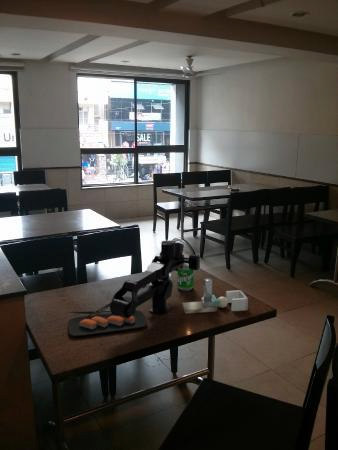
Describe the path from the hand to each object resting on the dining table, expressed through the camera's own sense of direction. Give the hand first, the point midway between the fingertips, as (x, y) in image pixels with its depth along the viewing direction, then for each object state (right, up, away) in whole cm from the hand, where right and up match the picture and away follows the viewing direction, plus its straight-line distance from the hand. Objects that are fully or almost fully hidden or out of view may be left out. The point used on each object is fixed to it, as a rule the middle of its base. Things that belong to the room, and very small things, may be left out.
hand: (188, 255), depth 184 cm
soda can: (-1, -16, +5) cm, 17 cm away
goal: (+19, -20, -14) cm, 31 cm away
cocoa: (-18, -16, +3) cm, 24 cm away
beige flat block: (+4, -21, -16) cm, 26 cm away
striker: (+8, -19, -16) cm, 26 cm away
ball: (+13, -18, -15) cm, 27 cm away
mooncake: (-13, -13, +16) cm, 25 cm away
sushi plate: (-34, -23, -22) cm, 47 cm away
